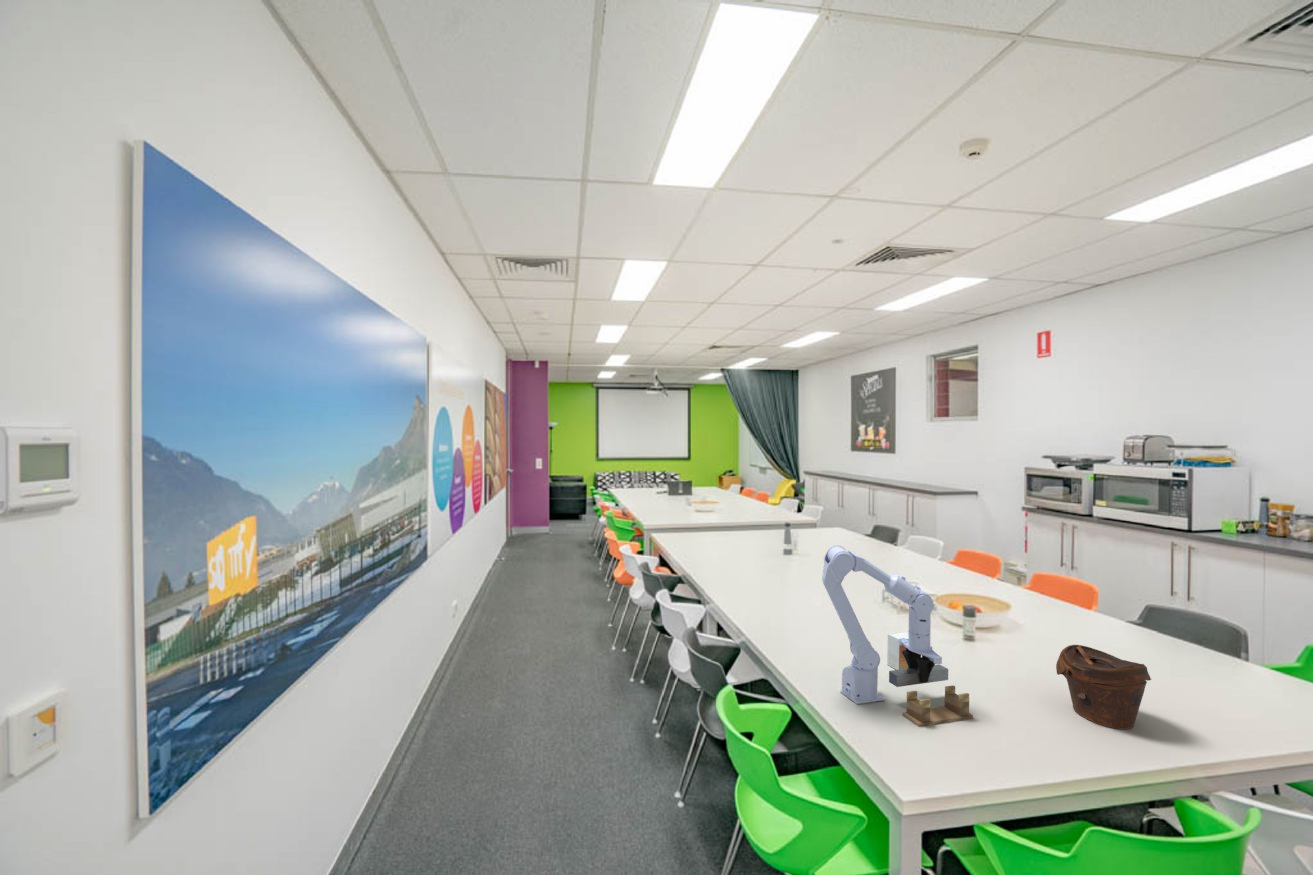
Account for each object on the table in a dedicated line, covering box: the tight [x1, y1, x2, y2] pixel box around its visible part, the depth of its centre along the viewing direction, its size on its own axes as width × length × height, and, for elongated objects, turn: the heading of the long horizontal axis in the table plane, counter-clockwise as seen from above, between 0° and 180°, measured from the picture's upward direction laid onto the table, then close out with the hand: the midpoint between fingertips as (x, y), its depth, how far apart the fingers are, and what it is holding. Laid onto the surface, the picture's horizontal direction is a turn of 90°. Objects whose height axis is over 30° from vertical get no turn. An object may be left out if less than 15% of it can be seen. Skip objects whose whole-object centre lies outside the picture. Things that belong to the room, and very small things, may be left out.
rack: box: [901, 684, 974, 728], centre depth 142 cm, size 18×6×6 cm, turn 106°
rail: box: [888, 664, 949, 688], centre depth 151 cm, size 18×3×3 cm, turn 106°
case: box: [1055, 644, 1152, 730], centre depth 144 cm, size 18×20×18 cm
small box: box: [886, 631, 909, 670], centre depth 174 cm, size 8×6×10 cm
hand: (919, 678), depth 151 cm, fingers closed on rail, 3 cm apart
